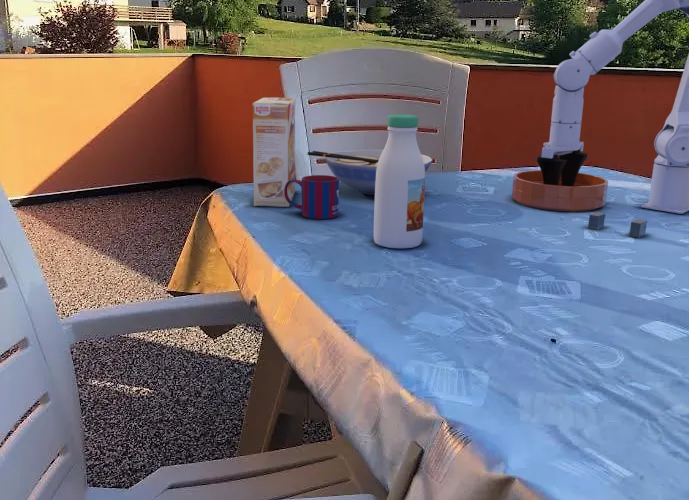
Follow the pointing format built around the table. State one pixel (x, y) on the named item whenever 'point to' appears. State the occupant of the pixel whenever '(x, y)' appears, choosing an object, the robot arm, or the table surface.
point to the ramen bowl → (357, 167)
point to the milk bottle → (400, 186)
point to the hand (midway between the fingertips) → (559, 190)
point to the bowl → (559, 192)
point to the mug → (317, 196)
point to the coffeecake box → (273, 150)
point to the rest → (635, 230)
